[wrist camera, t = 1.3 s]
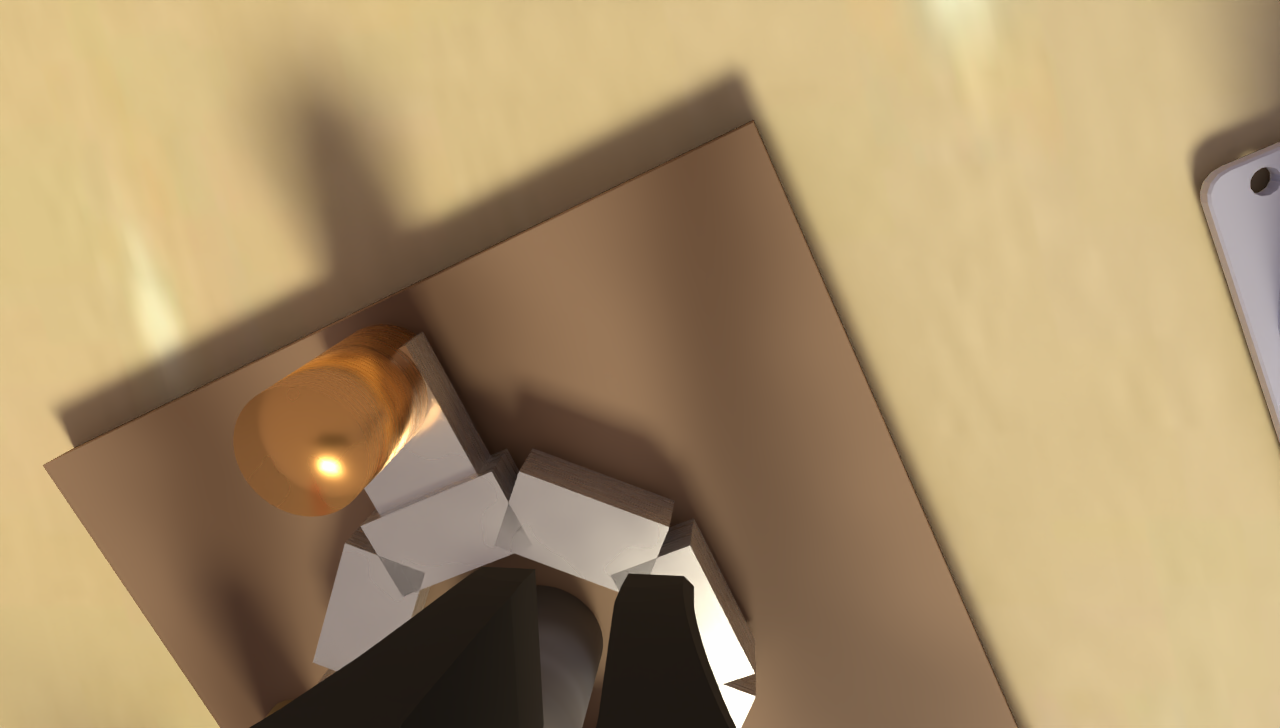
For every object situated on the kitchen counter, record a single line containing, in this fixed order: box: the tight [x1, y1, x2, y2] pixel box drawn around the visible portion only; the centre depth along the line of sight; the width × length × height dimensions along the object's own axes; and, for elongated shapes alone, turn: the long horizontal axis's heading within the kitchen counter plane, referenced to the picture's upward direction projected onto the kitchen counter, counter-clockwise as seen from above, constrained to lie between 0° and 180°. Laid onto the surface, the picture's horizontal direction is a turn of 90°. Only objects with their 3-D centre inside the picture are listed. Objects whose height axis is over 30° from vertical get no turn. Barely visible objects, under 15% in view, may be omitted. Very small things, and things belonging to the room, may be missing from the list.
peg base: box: [43, 120, 1018, 728], centre depth 20 cm, size 18×17×5 cm
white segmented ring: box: [233, 324, 756, 728], centre depth 19 cm, size 13×9×4 cm
